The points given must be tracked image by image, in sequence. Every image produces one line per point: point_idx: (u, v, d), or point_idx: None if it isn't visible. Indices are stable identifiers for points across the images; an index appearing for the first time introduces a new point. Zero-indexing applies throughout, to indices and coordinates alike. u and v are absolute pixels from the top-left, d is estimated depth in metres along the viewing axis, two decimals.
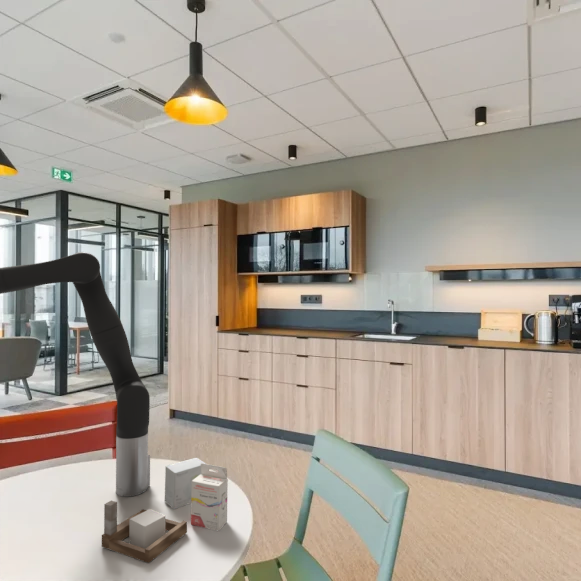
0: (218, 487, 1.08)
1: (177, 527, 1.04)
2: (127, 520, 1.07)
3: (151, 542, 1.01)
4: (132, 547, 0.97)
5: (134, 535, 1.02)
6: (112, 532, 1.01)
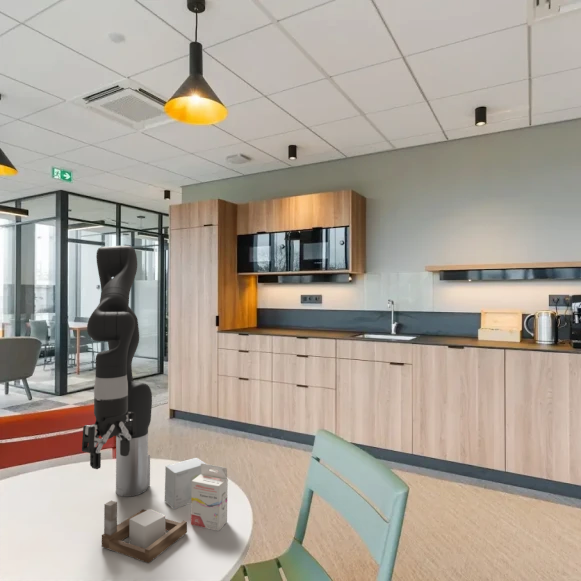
0: (218, 487, 1.08)
1: (177, 527, 1.04)
2: (127, 520, 1.07)
3: (151, 542, 1.01)
4: (132, 547, 0.97)
5: (134, 535, 1.02)
6: (112, 532, 1.01)
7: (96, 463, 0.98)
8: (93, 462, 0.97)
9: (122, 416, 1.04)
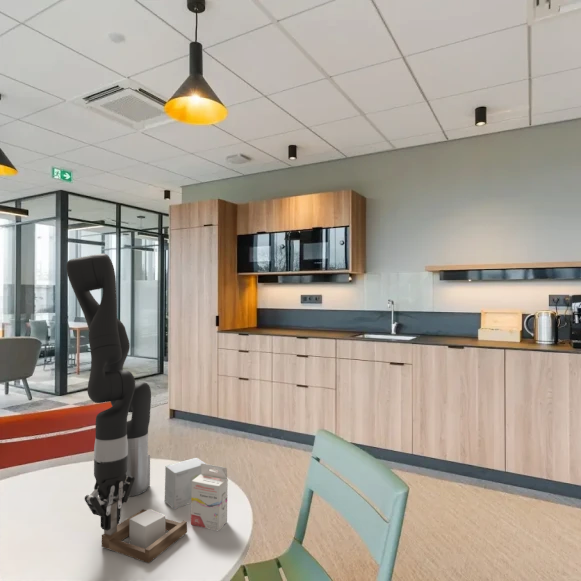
0: (218, 487, 1.08)
1: (177, 527, 1.04)
2: (127, 520, 1.07)
3: (151, 542, 1.01)
4: (132, 547, 0.97)
5: (134, 535, 1.02)
6: (112, 532, 1.01)
7: (107, 524, 1.00)
8: (103, 524, 1.00)
9: None
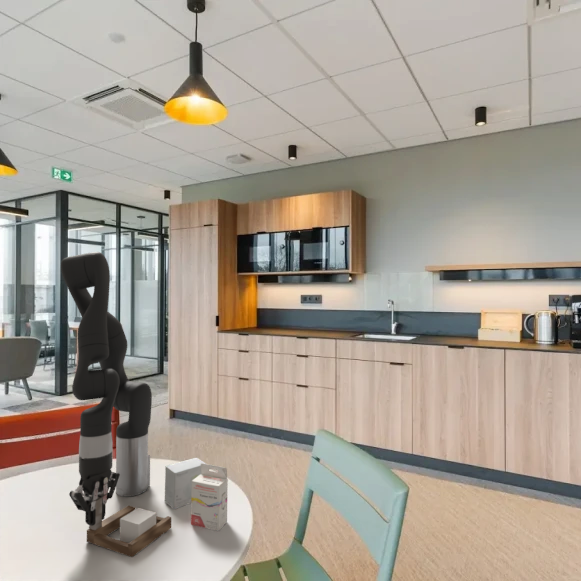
0: (218, 487, 1.08)
1: (161, 522, 1.06)
2: (112, 516, 1.09)
3: None
4: (116, 542, 0.99)
5: (125, 534, 1.02)
6: (97, 527, 1.03)
7: (91, 519, 1.02)
8: (88, 519, 1.02)
9: (108, 470, 1.07)
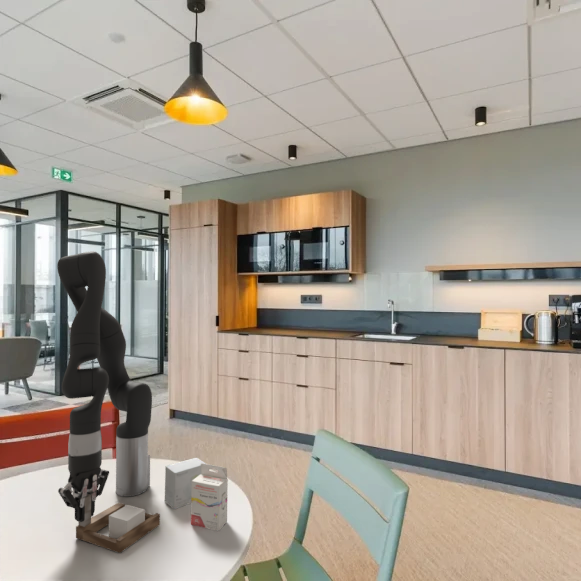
0: (218, 487, 1.08)
1: (150, 519, 1.08)
2: (102, 513, 1.11)
3: None
4: (104, 538, 1.01)
5: (114, 530, 1.04)
6: (86, 524, 1.05)
7: (81, 516, 1.04)
8: (77, 516, 1.03)
9: (98, 467, 1.08)
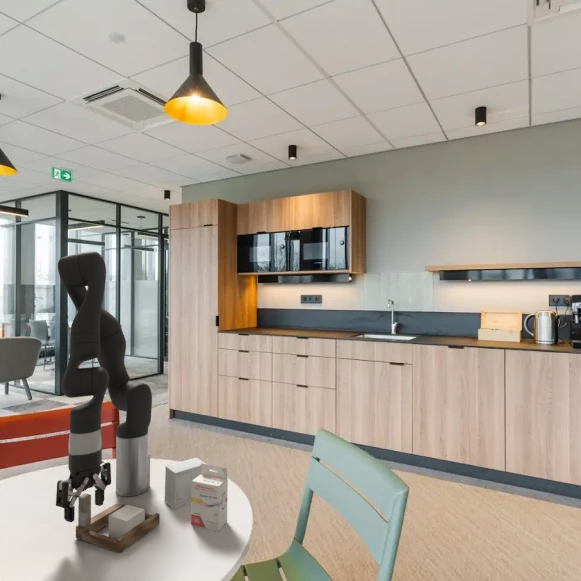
0: (218, 487, 1.08)
1: (149, 519, 1.08)
2: (102, 512, 1.11)
3: None
4: (104, 538, 1.01)
5: (114, 530, 1.04)
6: (86, 524, 1.05)
7: (70, 516, 1.01)
8: (67, 516, 1.01)
9: (96, 468, 1.08)
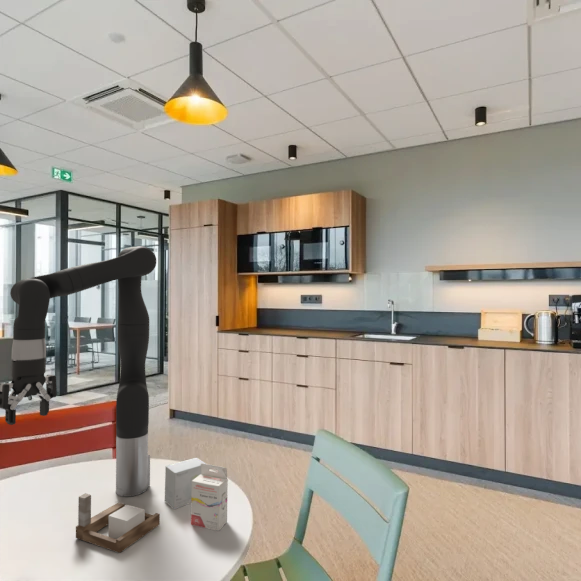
0: (218, 487, 1.08)
1: (149, 519, 1.08)
2: (102, 512, 1.11)
3: None
4: (104, 538, 1.01)
5: (114, 530, 1.04)
6: (86, 524, 1.05)
7: (11, 419, 1.04)
8: (8, 418, 1.04)
9: (40, 377, 1.11)
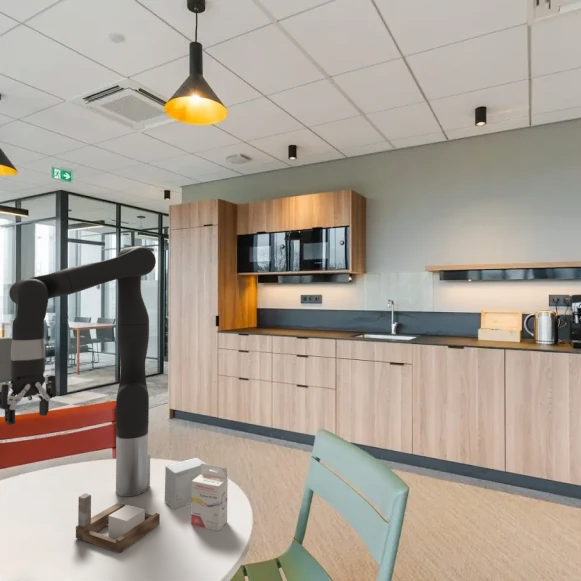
0: (218, 487, 1.08)
1: (149, 519, 1.08)
2: (102, 512, 1.11)
3: None
4: (104, 538, 1.01)
5: (114, 530, 1.04)
6: (86, 524, 1.05)
7: (11, 419, 1.05)
8: (7, 418, 1.04)
9: (40, 377, 1.11)
